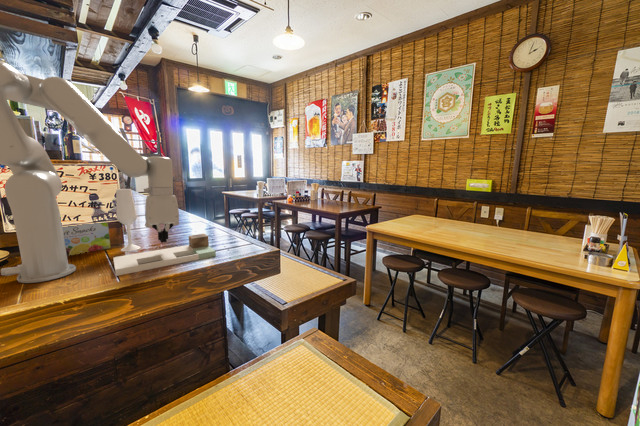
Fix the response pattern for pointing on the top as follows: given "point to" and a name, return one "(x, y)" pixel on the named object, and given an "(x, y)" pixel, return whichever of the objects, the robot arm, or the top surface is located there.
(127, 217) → the champagne flute
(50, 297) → the top surface
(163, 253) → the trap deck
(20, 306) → the top surface
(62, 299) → the top surface
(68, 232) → the snack box
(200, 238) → the walnut block
